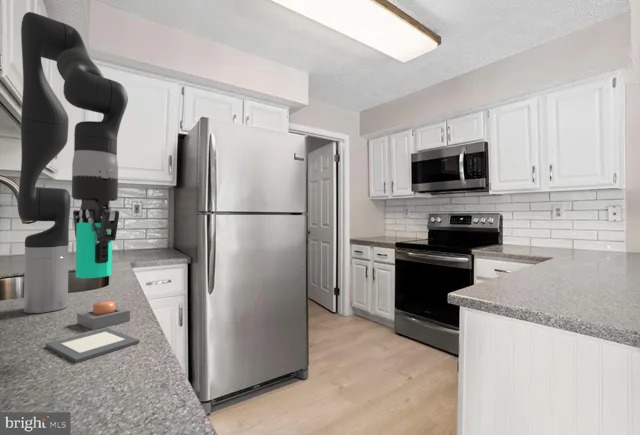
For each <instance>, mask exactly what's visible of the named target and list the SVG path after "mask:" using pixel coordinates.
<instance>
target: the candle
mask: <svg viewBox="0 0 640 435" xmlns="http://www.w3.org/2000/svg"><path fill="white" fill-rule="evenodd" d="M95 226H96V227H99V228H100V227H101V223H95ZM99 234H100V231H99ZM105 234H106V233H105ZM110 234H111V231H110ZM94 240H95V233H94V232H92V231H91V223H84V222H80V223H76V237H75V278H76V279H77V278H78V279H95V278H103V277H104V278H105V277H108V276H109V277H110V276H111V275H112V264H113V263H112V262H113V261H112V258H113V254H112V253H113V251H112V250H113V241H111V242H110V243H108V262H107V263H99V264H98V263H96V262H95V242H94Z"/></svg>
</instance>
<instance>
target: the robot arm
mask: <svg viewBox="0 0 640 435" xmlns="http://www.w3.org/2000/svg"><path fill="white" fill-rule="evenodd" d="M20 28H21V29H20V34H21V35H20V36H21V38H20V39H21V40H20V41H21V42H20V43H21V55H22V56H21V58H22V74H23V75H22V76H23V77H22V81H23V83H22V84H23V85H22V100H21V101H22V103H21V115H20V116H21V118H20V120H21V122H20V137H21V139H20V141H21V144H20V146H21V147H20V148H21V163H20V164H21V165H20V175H19V176H20V178H19V185H18V186H19V187H18V195H17V196H18V197H17V212H18V213H17V214H18V216H19V218H20V219H21V220H22V221H24V222H54V224H53V225H52V226H51V227H49V228H47V229H45V230H43V231H41V232H37V233H33V234H30V235H27V236H25V240H24V273H23V274H24V275H23V276H24V280H23V281H24V282H23V283H24V284H23V285H24V286H23V289H24V290H23V312H24V313H27V314H42V313H49V312H54V311H55V312H56V311H59V310H62V309H65V308H67V307H68V305H69V304H68V302H69V297H68V296H69V242H70V241H69V238H70V237H69V236H70V234H69V232H70V230H69V229H70V216H71V215H70V214H71V198H72V199H74V200H77V201H81V205H80V209H79V210H78V209H77V210H75V209H74V210H73V212H72V215H73V225H74V235H75V236H74V237H75V238H76V223H80V222H84V223H91V231H92V232H94V233H95V240H94V242H95V262H96V263H98V264H99V263H107V262H108V243H110V242H111V241H112V242H113V241H114V242H115V241H116V238H117V237H116V236H117V232H118V225H119V219H120V218H119V217H120V211H119V210H115V209H114V210H113V209H112V208H111V207H112V206H111V204H110V202H114V201H117V200H118V196H119V193H118V192H119V191H118V190H119V165H118V164H119V163H118V134H119V131H120V130H119V129H120V126H121V122H122V121H123V120H122V119H123V117H124V114H125V111H126V109H127V106H128V102H129V96H128V92H127V90H126V89H125V86H123V84H122V83H120V82H118V81H116V80H114V79H113V80H112V79H110V78H107V77H104V74H103V73H102V71H101V70H100V69H99V68H98V67H97V65H96V64H95V62H94V61H93V60H92V59H91V58H90V56H89V55H90V54H89V53H88V52H89V51H88V49H87V47H86V45H85V42H84V40H83V38H82V36H81V34H80V32H79V31H78V30H77V29H76V28H75V27H73V26H71V25H69V24H68V23H64V22H62V21H58V20H56V19H53V18H50V17H48V16H47V17H46V16H44V15H41V14H38V13H36V12H31V11H28V12H27V11H26V13H25V14H24V15H23V17H22V19H21V26H20ZM42 58H43V59H46V60H47V59H48V60H51V61H53V62H54V61H55V62H56V69H57V71H58V73H59V75H60V76H61V78H62V79H63V81H64V83H63V96H64V98H65V100H66V102H68V103H69V104H70V105H72V106H73V107H76V108H77V109H81V110H86V111H88V112H89V111H90V112H94V113H98V114H103V117H102V120H101V121H96V120H95V121H93V120H92V121H90V120H87V121H85V120H84V121H79V122H78V123H76V124H75V126H74V136H73V137H74V139H73V140H74V141H73V143H74V144H73V146H74V147H73V148H74V149H73V150H74V152H73V158H72V163H71V164H72V165H71V168H72V170H71V194H70V192H69V191H68V189H67V188H66V189H65V188H58V187H57V188H56V187H40V186H39V187H37V186H36V184H37V182H38V180H39V178H40V176H41V174H42V172H43V171H44V170H45V169H46V167H47V166H48V165H49V164H50V163H51V161H53V160H54V159H55V158H56V157H57V156H58V155H59V154H60V153H61V151H63V150H64V148H65V146H66V145H67V143H68V137H69V136H68V134H69V121H70V120H69V116H68V113H67V111H66V109H65V107H64V106H63V104H62V103H61V101H60V100H59V98H58V96H57V95H56V93H55V92H54V91H53V88H52V87H51V86H50V84H49V82H48V80H47V78H46V75H45V72H44V69H43V68H44V67H43V65H42V64H43V63H42ZM95 223H101V227H100V228H99V227H96V226H95ZM99 231H100V234H99ZM110 231H111V234H110ZM105 233H106V234H105Z"/></svg>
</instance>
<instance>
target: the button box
mask: <svg viewBox="0 0 640 435" xmlns="http://www.w3.org/2000/svg"><path fill="white" fill-rule="evenodd" d="M130 320H131V311H130V309H125V308H122V307H119V306H116V305H115V312H114V313H109V314H105V315H100V316H96V315H93V309H91V310H86V311H85V310H84V311H81V312H77V313H76V324H77V325H80V326H81V327H85V328H87V329H90V330H92V331H96V330H100V329H104V328H108V327H111V326H114V325H118V324H119V325H120V324H122V323H128V322H129V321H130Z"/></svg>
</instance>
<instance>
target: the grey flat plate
mask: <svg viewBox="0 0 640 435" xmlns="http://www.w3.org/2000/svg"><path fill="white" fill-rule="evenodd" d="M138 344H140V339H139V338H135V337H132V336H131V335H130V336H129V335H128V334H124V333H121V332H119V331H117V330H114V329H111V328H108V327H104V328H100V329H97V330H93V331H90V332H86V333H83V334H82V333H81V334H79V335H75V336H74V335H73V336H72V337H71V336H70V337H68V338H64V339H59V340H55V341H52V342H48V343H46V344H45V347H46V348H48V349H49V350H51V351H53V352H55V353H57V354H59V355H61V356H63V357H64V358H66V359H68V360H69V361H72V362H74V363H75V364H77V363H81V362H84V361H86V360H90V359H93V358H96V357H99V356H103V355H105V354H106V355H107V354H109V353H112V352H115V351H119V350H121V349H125V348H128V347H131V346H134V345H138Z"/></svg>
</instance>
